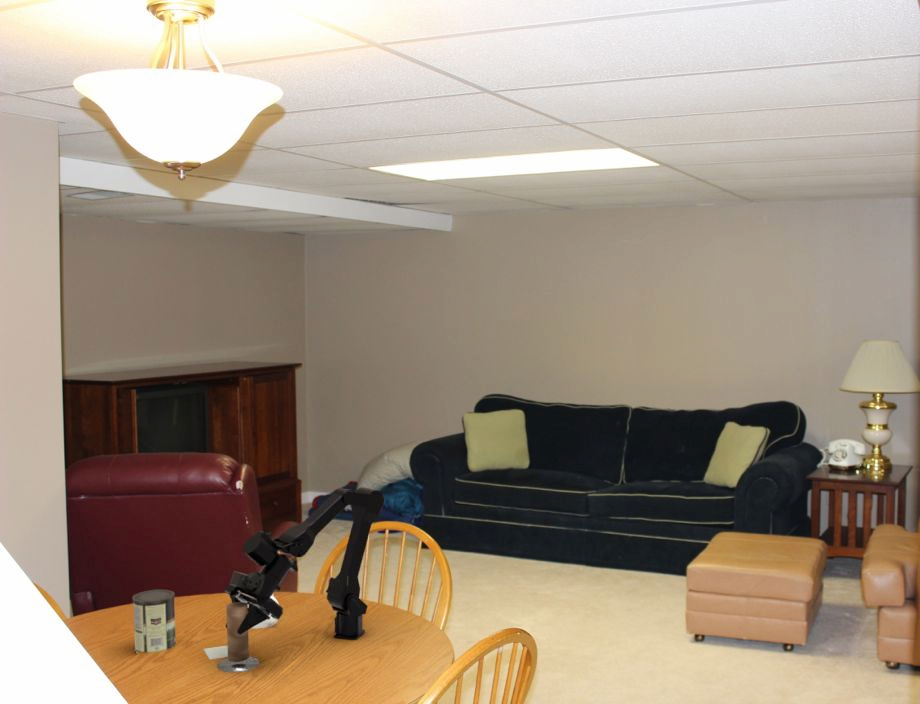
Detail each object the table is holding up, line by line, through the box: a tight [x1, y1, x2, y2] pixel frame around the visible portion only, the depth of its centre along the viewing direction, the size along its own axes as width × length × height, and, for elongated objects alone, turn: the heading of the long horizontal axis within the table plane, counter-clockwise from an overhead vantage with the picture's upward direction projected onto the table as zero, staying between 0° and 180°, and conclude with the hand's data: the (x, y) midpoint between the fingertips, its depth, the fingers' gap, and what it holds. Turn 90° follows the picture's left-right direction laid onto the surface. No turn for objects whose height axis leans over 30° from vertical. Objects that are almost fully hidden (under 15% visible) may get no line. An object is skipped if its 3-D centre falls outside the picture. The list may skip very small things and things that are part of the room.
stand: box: [203, 644, 228, 661], centre depth 254 cm, size 8×8×1 cm
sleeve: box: [226, 602, 250, 662], centre depth 245 cm, size 5×5×13 cm
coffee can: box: [132, 589, 177, 654], centre depth 258 cm, size 10×10×14 cm
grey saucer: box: [216, 656, 260, 674], centre depth 245 cm, size 10×10×1 cm
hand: (232, 630), depth 244 cm, fingers closed on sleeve, 5 cm apart
